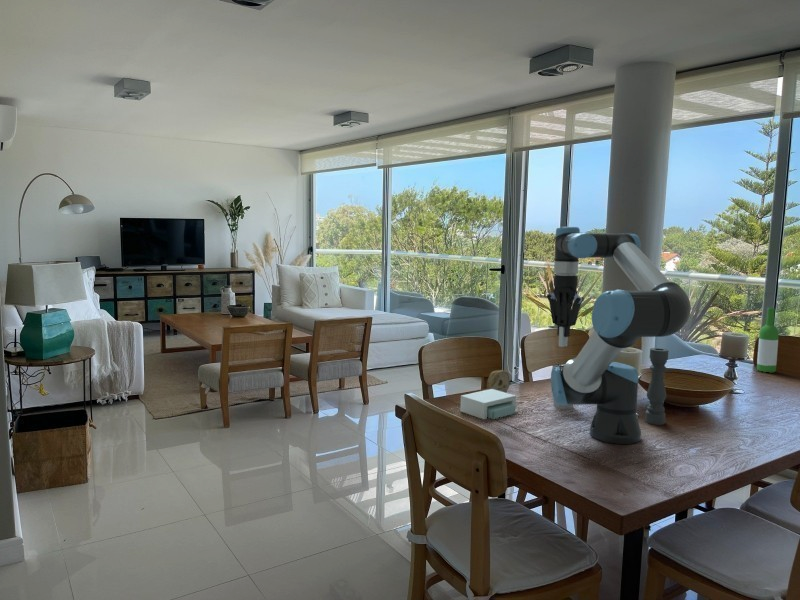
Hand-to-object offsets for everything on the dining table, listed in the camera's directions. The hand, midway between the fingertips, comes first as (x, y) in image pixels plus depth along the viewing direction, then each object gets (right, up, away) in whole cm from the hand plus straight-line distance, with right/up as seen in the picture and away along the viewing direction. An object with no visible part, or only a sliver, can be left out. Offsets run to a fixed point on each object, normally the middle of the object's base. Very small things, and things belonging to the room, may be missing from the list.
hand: (562, 346), depth 197 cm
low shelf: (-22, -25, +16) cm, 37 cm away
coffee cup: (+6, -24, +23) cm, 34 cm away
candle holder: (+33, -26, +6) cm, 43 cm away
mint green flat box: (-21, -25, +14) cm, 35 cm away
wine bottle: (+119, -19, +84) cm, 147 cm away
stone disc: (-15, -22, +38) cm, 47 cm away
